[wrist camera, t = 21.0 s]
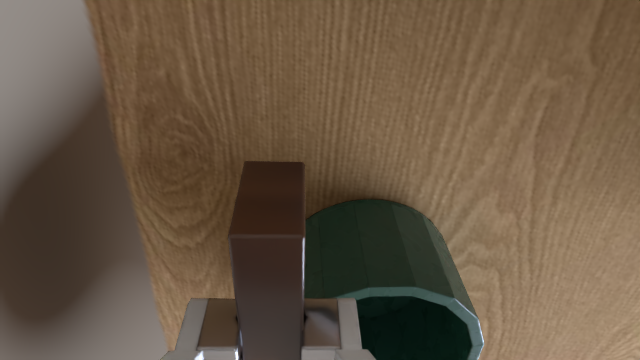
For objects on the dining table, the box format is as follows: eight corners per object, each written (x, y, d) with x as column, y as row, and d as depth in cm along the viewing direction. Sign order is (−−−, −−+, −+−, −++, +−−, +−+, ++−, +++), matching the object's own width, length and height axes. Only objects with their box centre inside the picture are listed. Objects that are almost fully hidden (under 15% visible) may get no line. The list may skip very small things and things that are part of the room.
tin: (374, 166, 29) (399, 250, 22) (475, 264, 35) (520, 355, 28) (244, 266, 34) (231, 361, 27) (352, 338, 40) (364, 432, 33)
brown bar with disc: (209, 159, 11) (182, 236, 8) (338, 160, 11) (349, 237, 9) (236, 365, 16) (223, 451, 14) (324, 365, 16) (328, 449, 14)
